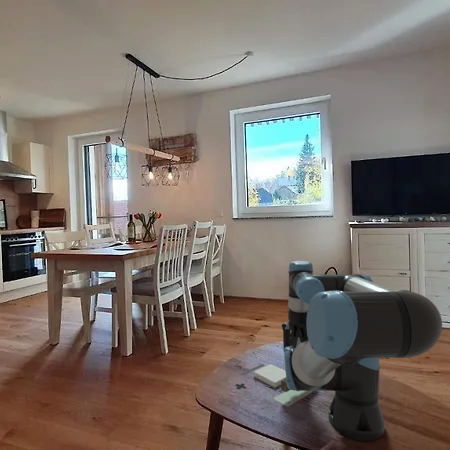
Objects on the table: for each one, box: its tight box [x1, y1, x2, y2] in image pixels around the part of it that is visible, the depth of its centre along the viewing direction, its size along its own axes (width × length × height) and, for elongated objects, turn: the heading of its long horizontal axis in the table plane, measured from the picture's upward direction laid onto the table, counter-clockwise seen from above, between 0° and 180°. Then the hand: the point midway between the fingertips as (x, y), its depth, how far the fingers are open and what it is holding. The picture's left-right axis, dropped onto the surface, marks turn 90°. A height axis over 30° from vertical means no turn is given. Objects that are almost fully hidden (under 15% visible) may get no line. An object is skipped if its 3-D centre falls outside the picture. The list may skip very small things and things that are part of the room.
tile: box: [253, 363, 286, 388], centre depth 125 cm, size 2×9×10 cm
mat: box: [242, 363, 266, 375], centre depth 126 cm, size 17×11×1 cm, turn 41°
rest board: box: [273, 390, 314, 408], centre depth 116 cm, size 6×19×1 cm, turn 131°
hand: (299, 378), depth 115 cm, fingers closed on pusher, 4 cm apart
